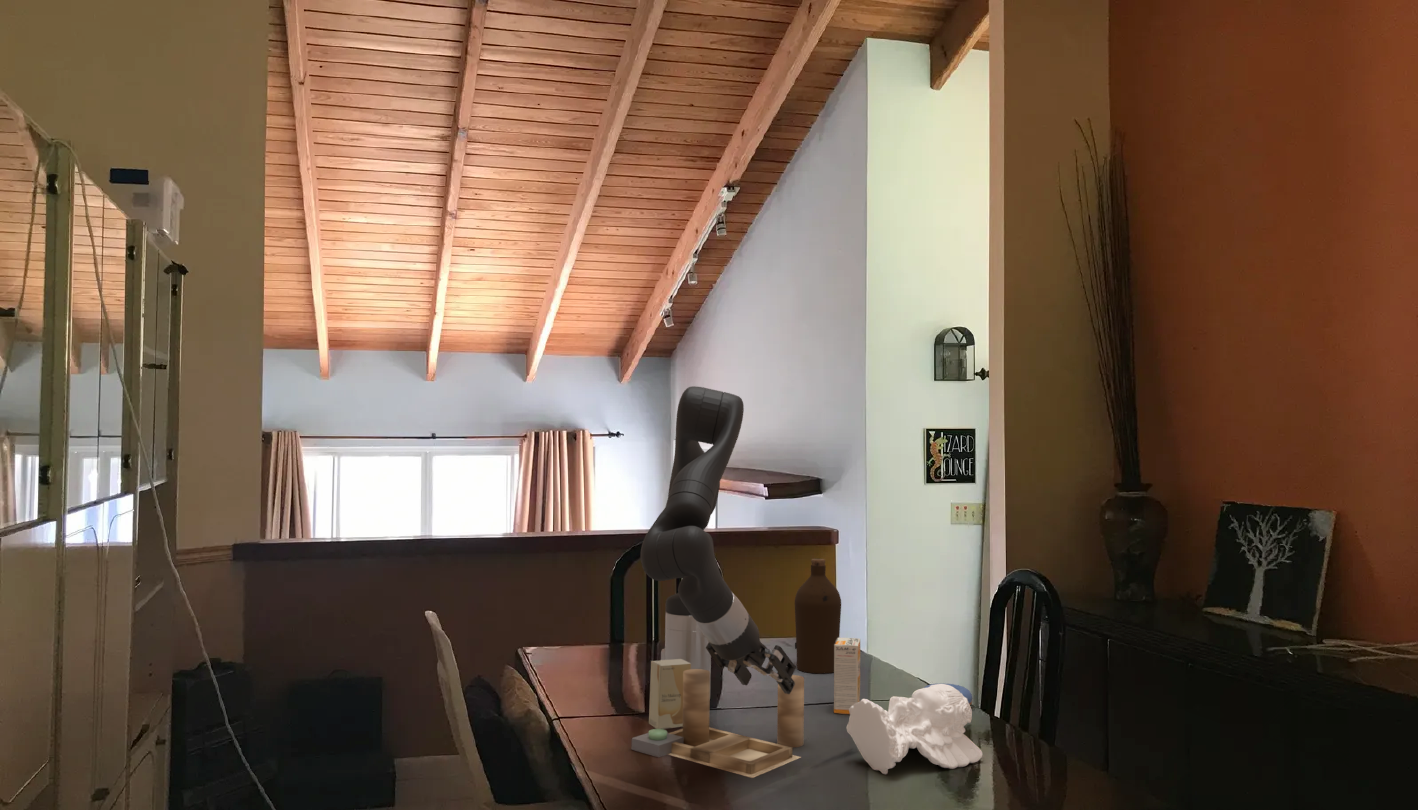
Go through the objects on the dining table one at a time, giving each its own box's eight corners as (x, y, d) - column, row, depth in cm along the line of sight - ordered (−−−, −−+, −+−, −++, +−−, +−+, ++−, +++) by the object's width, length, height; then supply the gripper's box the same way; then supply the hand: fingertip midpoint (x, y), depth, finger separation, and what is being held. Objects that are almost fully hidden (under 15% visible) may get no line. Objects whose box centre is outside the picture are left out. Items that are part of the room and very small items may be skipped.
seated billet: (676, 745, 162) (677, 672, 162) (694, 739, 165) (695, 667, 166) (697, 751, 159) (698, 676, 159) (714, 745, 162) (715, 671, 163)
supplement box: (858, 715, 186) (859, 645, 187) (833, 713, 187) (833, 644, 188) (860, 704, 194) (861, 637, 195) (836, 702, 195) (836, 636, 196)
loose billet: (771, 750, 164) (772, 678, 164) (786, 744, 167) (787, 673, 168) (793, 756, 161) (794, 682, 161) (808, 750, 164) (809, 677, 165)
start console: (631, 756, 160) (631, 731, 160) (656, 748, 164) (656, 724, 164) (658, 764, 156) (659, 739, 156) (683, 755, 160) (683, 731, 161)
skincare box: (657, 736, 171) (659, 665, 171) (647, 730, 175) (648, 660, 175) (691, 732, 174) (692, 662, 174) (680, 725, 178) (681, 657, 178)
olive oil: (850, 669, 224) (851, 559, 225) (820, 676, 217) (820, 563, 218) (814, 662, 232) (815, 555, 233) (784, 668, 225) (785, 558, 226)
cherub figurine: (837, 692, 161) (931, 668, 171) (844, 768, 161) (938, 739, 171) (887, 709, 150) (985, 682, 159) (895, 791, 150) (992, 759, 159)
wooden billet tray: (644, 755, 160) (644, 738, 161) (695, 737, 170) (695, 721, 171) (752, 785, 147) (752, 767, 147) (801, 764, 157) (801, 747, 157)
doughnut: (971, 714, 187) (970, 689, 188) (917, 712, 190) (916, 687, 191) (974, 706, 196) (973, 683, 197) (923, 704, 199) (923, 681, 200)
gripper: (773, 609, 149) (814, 672, 157) (701, 598, 158) (743, 659, 166) (752, 649, 145) (795, 712, 153) (679, 636, 154) (724, 696, 162)
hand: (768, 684), depth 160 cm, fingers open, 8 cm apart
